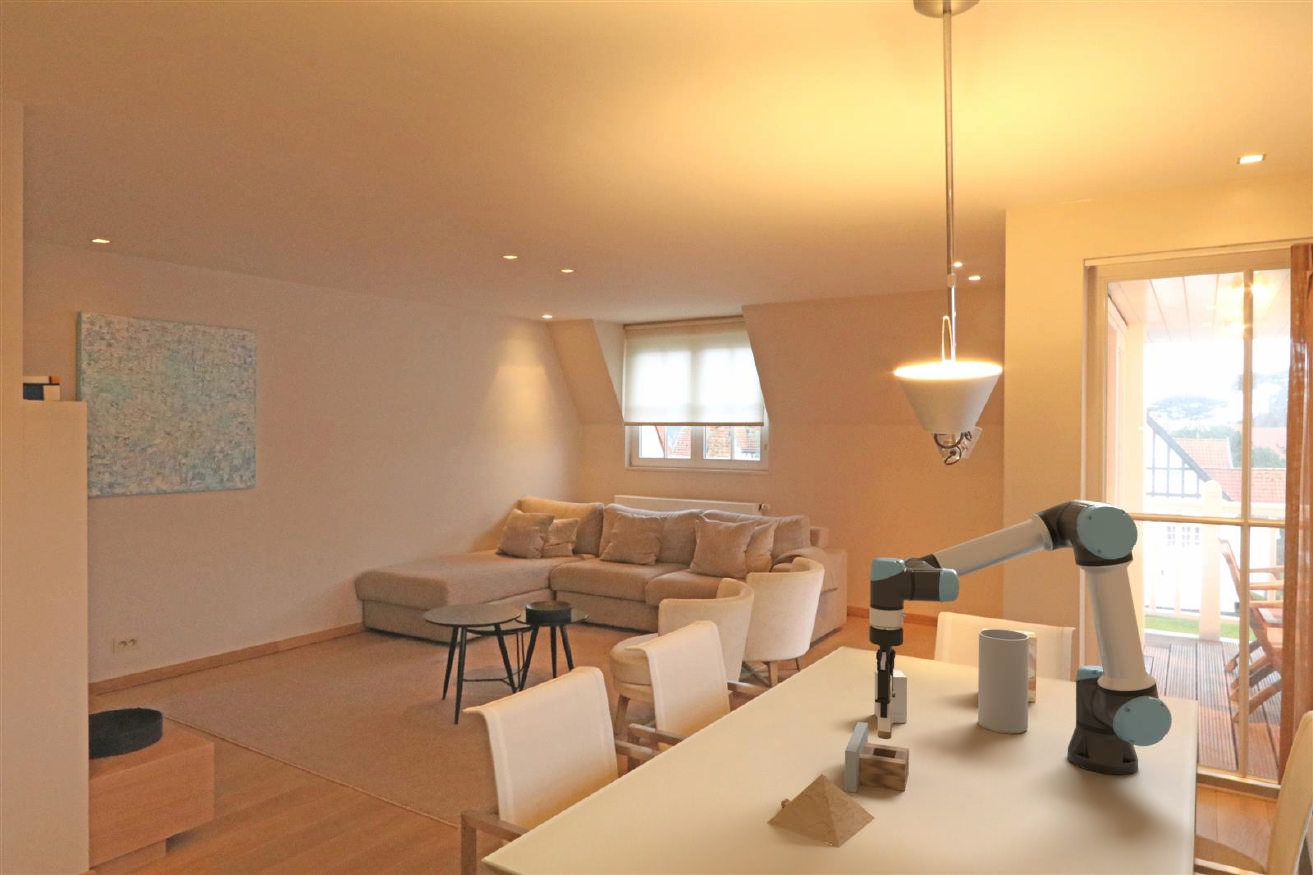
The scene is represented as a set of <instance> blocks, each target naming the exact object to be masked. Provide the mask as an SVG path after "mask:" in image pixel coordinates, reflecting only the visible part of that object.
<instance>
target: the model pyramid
mask: <svg viewBox="0 0 1313 875" xmlns="http://www.w3.org/2000/svg"><path fill="white" fill-rule="evenodd" d="M780 806H781V809H780V810H779V811H778V812H777V813H776V814H775V815H774V816H772V817H771V819H769V820H768V821H767V824H769V825H772V826H775V827H779V828H781V829H783V830H786V829H787V831H789V830H790V832H793V833H795V834H798V833H799V834H798V835H801V836H803V837H807V838H809V839H812V838H813V840H815V839H816V841H818V840H819V841H818V842H822V843H824V842H825V844H827V843H829V844H828V845H830V844H832V845H831V846H832V847H836V848H838V847H839V848H841V847H842V846H843V845H844V844H846V843H847V842H848V841H849V840H850V839H852V838H853V837H855V835H857V834H859V833H860V831H862V829H864V828H865V827H867V826H868V825H869V824H870V823H871V822H873V821H874V820H875V819H876V818H875V816H873V814H871V813H870V812H868V811H867V810H866V809H865V808H863V806H861V805H860V804H859V803H857V802H856V801H855V800H854V799H853V798H852V797H851V796H849V795H848V794H847V793H846V792H844V790H842V789H841V788H840V787H838V786H837V785H836V784H835V783H834V782H832V781H831V780H830V779H829V778H828V777H827V776H825V775H824V774H823V773H821V774H820V775H819V776H818V777H817V778H815V779H814V781H812V782H811V783H810V784H808V785H807V786H806V787H805V788H804V789H803V790H802V791H801V792H800V793H799V794H797V795H796V796H795V797H794V798H792V800H790V799H789V798H784V799H783V800H781V801H780ZM873 819H874V820H873ZM872 820H873V821H872ZM867 824H868V825H867ZM826 842H827V843H826ZM845 842H846V843H845Z"/></svg>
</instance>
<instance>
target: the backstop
mask: <svg viewBox="0 0 1313 875" xmlns="http://www.w3.org/2000/svg"><path fill="white" fill-rule="evenodd" d="M868 729H869V723H868V722H862V721H857V722H856V726H855V727H854V730H853V731H852V734H851V736H850V738H849V741H848V742H847V744H846V747H845V749H844V791H845V792H848V793H855V794H856V793H857V790H858V787H859V786H860V784H859V757H860V754H861V751H862V749H863V746H864V744H865V743H869V741H868V740H869V738H868V737H869V733H868V732H869V731H868Z"/></svg>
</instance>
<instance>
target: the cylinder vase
mask: <svg viewBox="0 0 1313 875" xmlns="http://www.w3.org/2000/svg"><path fill="white" fill-rule="evenodd" d="M985 629H986V630H982V629H981V630H979V631H978V674H977V675H978V677H977V678H978V682H977V683H978V688H977V689H978V693H977V697H978V699H977V702H978V703H977V706H978V707H977V722H978V724H979V725H980V726H981V727H982V728H983V729H986V730H988V731H990V732H995V733H1000V734H1008V735H1010V734H1011V735H1014V734H1021V733H1024V732H1026V731H1027V730H1028V728H1029V701H1028V666H1029V636H1028V635H1026V634H1024V633H1021V632H1017V631H1018V630H1010V629H1001V628H1000V629H998V628H985Z"/></svg>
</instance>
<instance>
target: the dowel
mask: <svg viewBox="0 0 1313 875" xmlns="http://www.w3.org/2000/svg"><path fill="white" fill-rule="evenodd" d="M890 703H891V715H890V732H884V731H878V730H877V737H878V738H879V739H882V740H891V739H892V727H891V724H892V725H893V723H892V676H891V675H890Z"/></svg>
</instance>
